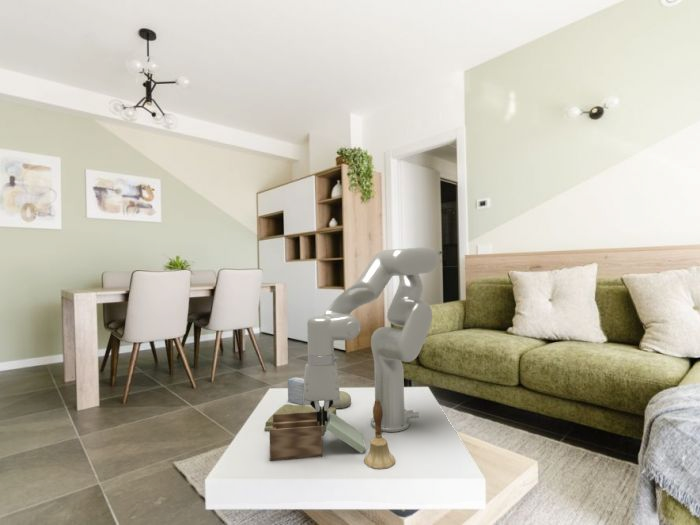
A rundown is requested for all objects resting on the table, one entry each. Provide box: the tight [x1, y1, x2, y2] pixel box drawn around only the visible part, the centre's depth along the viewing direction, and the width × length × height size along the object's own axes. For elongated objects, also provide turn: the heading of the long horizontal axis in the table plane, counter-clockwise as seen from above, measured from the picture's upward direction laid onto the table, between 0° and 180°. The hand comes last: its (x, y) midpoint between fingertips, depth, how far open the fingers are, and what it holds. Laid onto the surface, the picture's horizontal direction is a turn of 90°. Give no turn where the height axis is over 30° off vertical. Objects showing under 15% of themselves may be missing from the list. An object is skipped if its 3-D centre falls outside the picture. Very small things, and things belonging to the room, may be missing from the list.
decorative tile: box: [263, 403, 337, 437], centre depth 122 cm, size 19×20×4 cm
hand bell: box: [363, 399, 396, 470], centre depth 97 cm, size 8×8×16 cm
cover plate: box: [326, 411, 366, 454], centre depth 106 cm, size 12×9×2 cm
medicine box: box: [287, 376, 306, 406], centre depth 142 cm, size 8×4×9 cm, turn 58°
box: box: [269, 411, 323, 462], centre depth 104 cm, size 14×11×8 cm
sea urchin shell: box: [331, 390, 352, 409], centre depth 138 cm, size 9×8×8 cm
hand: (322, 423), depth 105 cm, fingers closed
